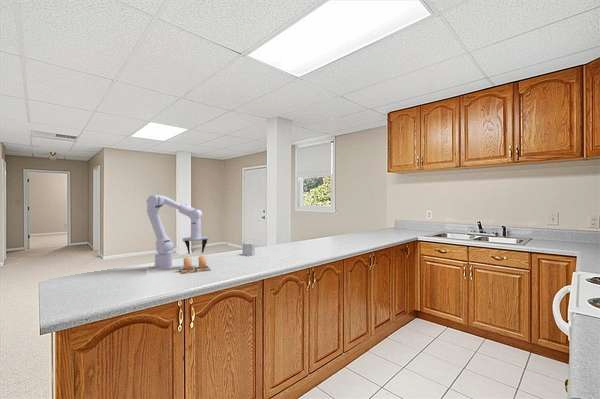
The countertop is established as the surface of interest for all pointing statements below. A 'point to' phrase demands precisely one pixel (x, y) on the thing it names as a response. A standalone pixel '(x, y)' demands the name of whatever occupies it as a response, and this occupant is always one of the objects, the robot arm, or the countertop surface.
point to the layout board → (194, 270)
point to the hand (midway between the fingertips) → (195, 252)
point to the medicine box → (248, 249)
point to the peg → (187, 264)
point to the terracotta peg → (202, 262)
